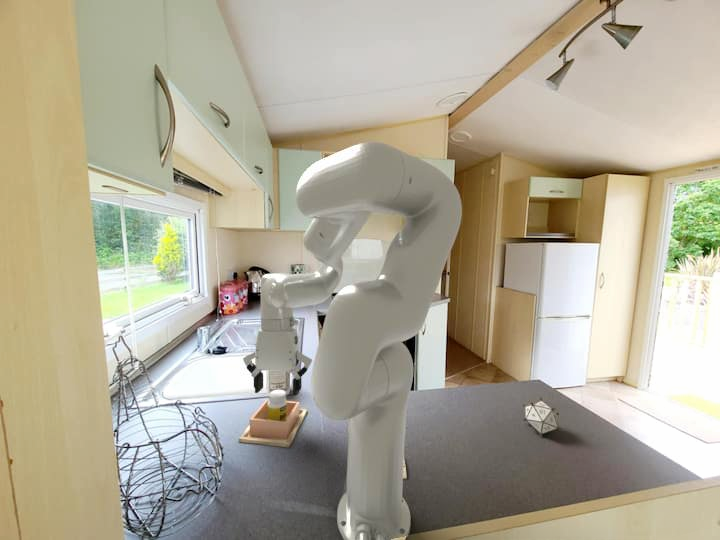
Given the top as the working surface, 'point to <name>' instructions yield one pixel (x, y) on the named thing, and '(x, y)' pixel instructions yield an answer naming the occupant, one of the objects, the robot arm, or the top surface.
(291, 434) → the tray
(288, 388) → the bath foam
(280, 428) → the peach square bin
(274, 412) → the supplement bottle
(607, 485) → the top surface
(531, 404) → the game die
